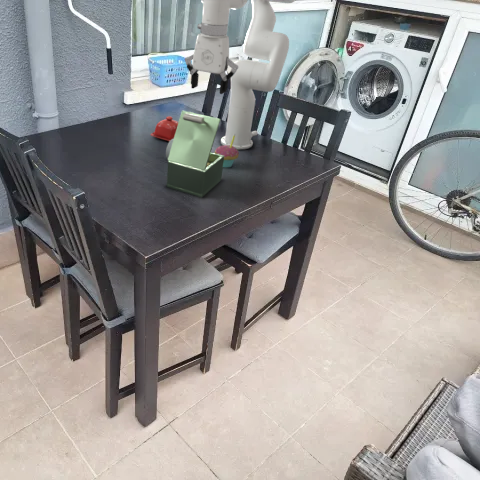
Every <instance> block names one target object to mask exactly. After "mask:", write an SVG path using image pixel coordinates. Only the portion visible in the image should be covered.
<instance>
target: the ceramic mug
mask: <svg viewBox="0 0 480 480" xmlns="http://www.w3.org/2000/svg"><path fill="white" fill-rule="evenodd" d="M173 140H174V139H172V140H171V141H168V143H167V146H166V150H165V157H166V159H167V160H168V157H169V154H170V150H171V147H172V143H173Z"/></svg>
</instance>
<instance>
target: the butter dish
mask: <svg viewBox="0 0 480 480" xmlns="http://www.w3.org/2000/svg"><path fill="white" fill-rule="evenodd" d="M178 123H179V121H177V120H175V119H173V117H172V116H170V115H169V116H166V117H165V119H162V120H160V121H159V122H157V124H156V125H155V129H154V131H153V132H151V133H150V136H151V137H154V138H157V139H159V140H163V141H167V142H170V141H171V140H172V139H174V136H175V133H176V130H177V126H178Z"/></svg>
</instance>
